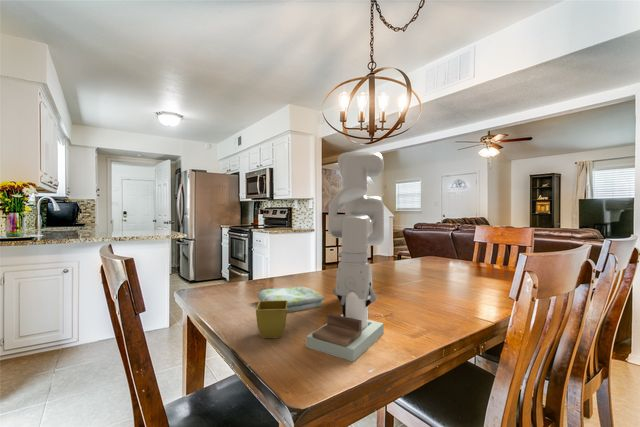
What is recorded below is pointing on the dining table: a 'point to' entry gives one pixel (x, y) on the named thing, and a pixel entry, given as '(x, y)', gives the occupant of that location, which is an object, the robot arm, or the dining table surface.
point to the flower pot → (271, 318)
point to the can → (357, 309)
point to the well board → (354, 347)
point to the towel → (293, 297)
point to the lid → (339, 330)
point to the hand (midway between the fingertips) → (354, 318)
